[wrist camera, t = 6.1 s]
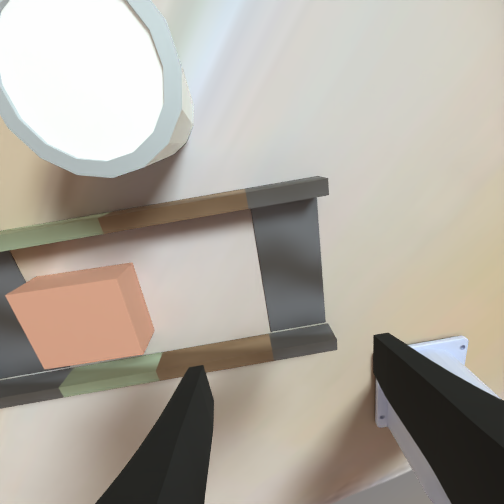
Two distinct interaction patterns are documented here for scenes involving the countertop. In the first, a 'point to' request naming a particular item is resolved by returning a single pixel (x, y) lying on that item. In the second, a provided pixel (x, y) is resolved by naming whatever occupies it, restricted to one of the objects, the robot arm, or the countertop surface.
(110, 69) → the shot glass
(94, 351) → the brick block
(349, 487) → the countertop surface
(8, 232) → the channel
